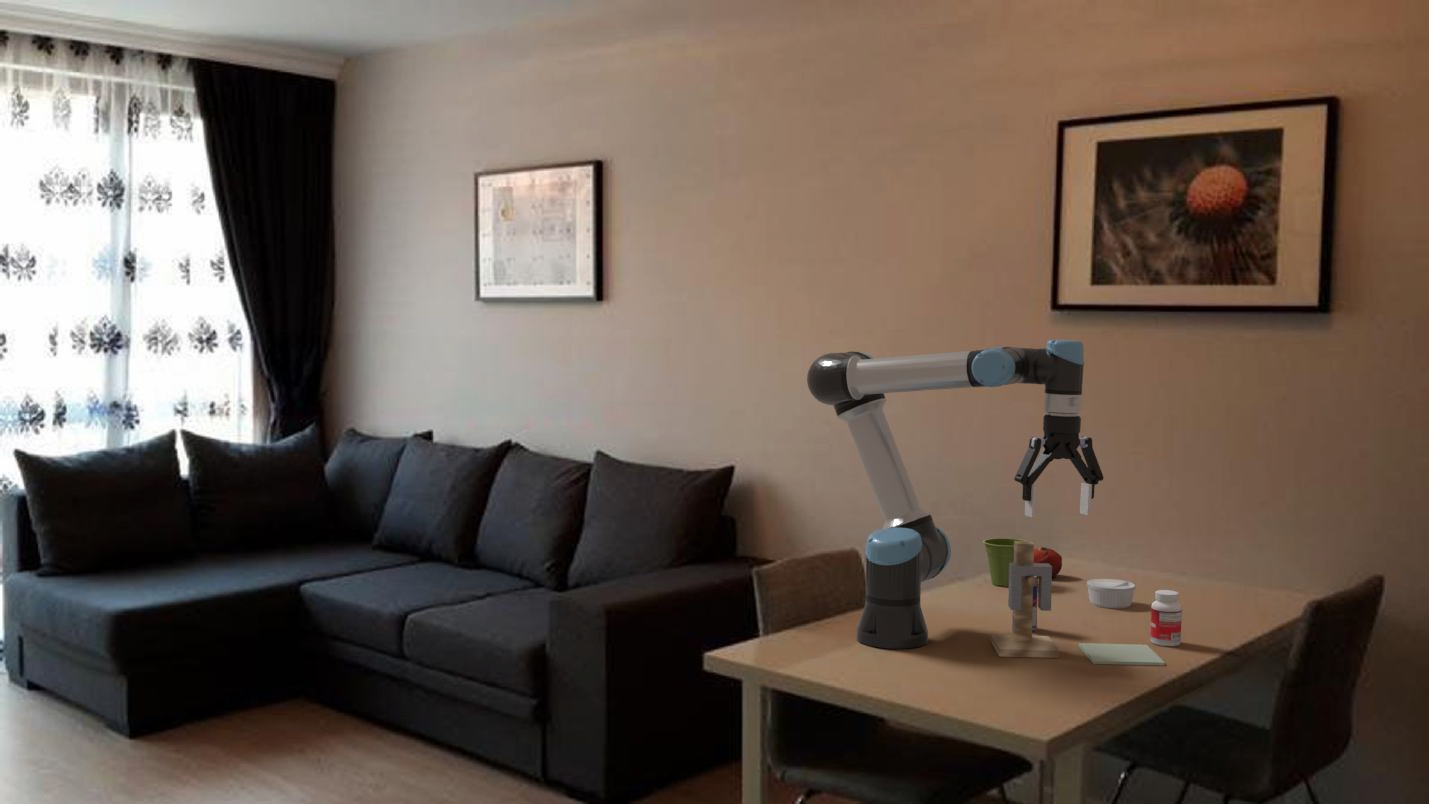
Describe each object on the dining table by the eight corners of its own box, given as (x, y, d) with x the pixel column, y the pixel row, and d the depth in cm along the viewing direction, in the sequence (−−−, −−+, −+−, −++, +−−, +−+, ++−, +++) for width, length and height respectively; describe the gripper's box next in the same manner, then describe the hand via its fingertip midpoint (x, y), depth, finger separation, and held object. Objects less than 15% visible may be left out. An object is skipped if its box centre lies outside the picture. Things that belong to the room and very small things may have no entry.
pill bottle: (1151, 638, 276) (1153, 588, 275) (1181, 641, 273) (1183, 590, 272) (1149, 645, 270) (1150, 593, 269) (1179, 648, 268) (1181, 596, 267)
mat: (1093, 663, 255) (1093, 660, 255) (1078, 645, 269) (1078, 643, 269) (1164, 665, 254) (1165, 662, 254) (1146, 647, 268) (1146, 644, 268)
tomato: (1040, 572, 348) (1041, 543, 347) (1069, 577, 341) (1069, 547, 340) (1019, 576, 342) (1020, 546, 341) (1048, 581, 335) (1049, 551, 334)
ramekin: (1138, 610, 302) (1139, 588, 302) (1089, 609, 304) (1090, 587, 304) (1130, 600, 313) (1131, 579, 313) (1083, 598, 315) (1084, 577, 315)
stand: (1001, 660, 258) (1003, 552, 256) (991, 641, 272) (992, 539, 271) (1061, 661, 257) (1064, 553, 255) (1048, 642, 271) (1050, 540, 270)
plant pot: (1001, 577, 340) (1001, 536, 339) (1038, 585, 330) (1039, 542, 330) (972, 583, 332) (973, 540, 331) (1009, 591, 323) (1010, 547, 322)
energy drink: (1037, 632, 280) (1038, 578, 280) (1012, 631, 282) (1013, 577, 281) (1036, 626, 286) (1037, 573, 285) (1011, 625, 287) (1012, 572, 286)
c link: (1010, 609, 259) (1011, 566, 258) (1008, 606, 262) (1009, 562, 262) (1051, 610, 258) (1052, 566, 257) (1047, 606, 262) (1048, 563, 261)
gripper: (1020, 416, 257) (1016, 520, 259) (1123, 415, 265) (1118, 516, 267) (1000, 412, 264) (996, 514, 266) (1101, 412, 272) (1096, 510, 274)
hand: (1057, 515), depth 266 cm, fingers open, 13 cm apart
